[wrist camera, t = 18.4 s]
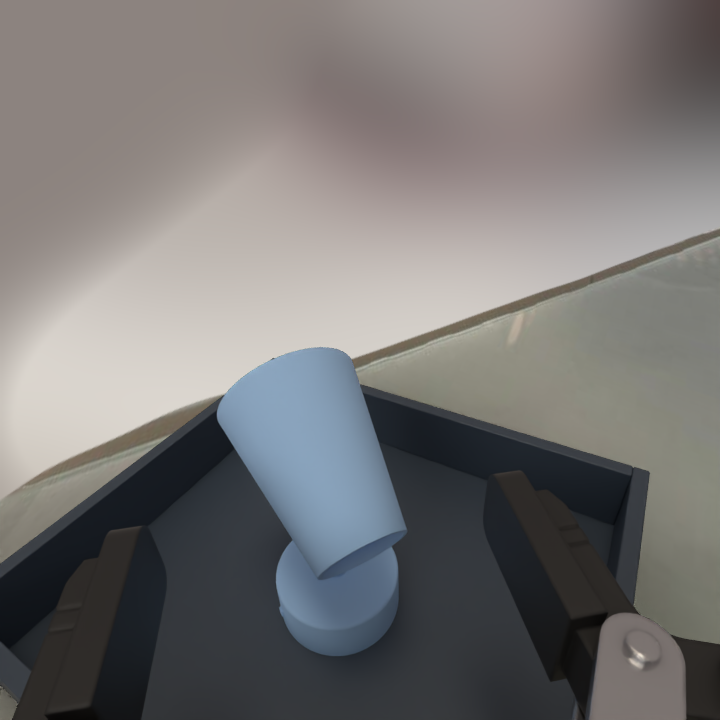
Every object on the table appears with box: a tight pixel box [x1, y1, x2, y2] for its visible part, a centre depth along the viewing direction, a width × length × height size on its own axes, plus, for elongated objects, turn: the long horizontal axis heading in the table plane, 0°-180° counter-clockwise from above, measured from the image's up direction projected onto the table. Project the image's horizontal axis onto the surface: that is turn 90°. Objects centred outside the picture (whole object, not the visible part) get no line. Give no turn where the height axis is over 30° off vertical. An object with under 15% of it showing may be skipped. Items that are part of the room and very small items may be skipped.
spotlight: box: [217, 347, 407, 656], centre depth 16 cm, size 5×10×7 cm
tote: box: [0, 358, 650, 720], centre depth 18 cm, size 19×17×4 cm
